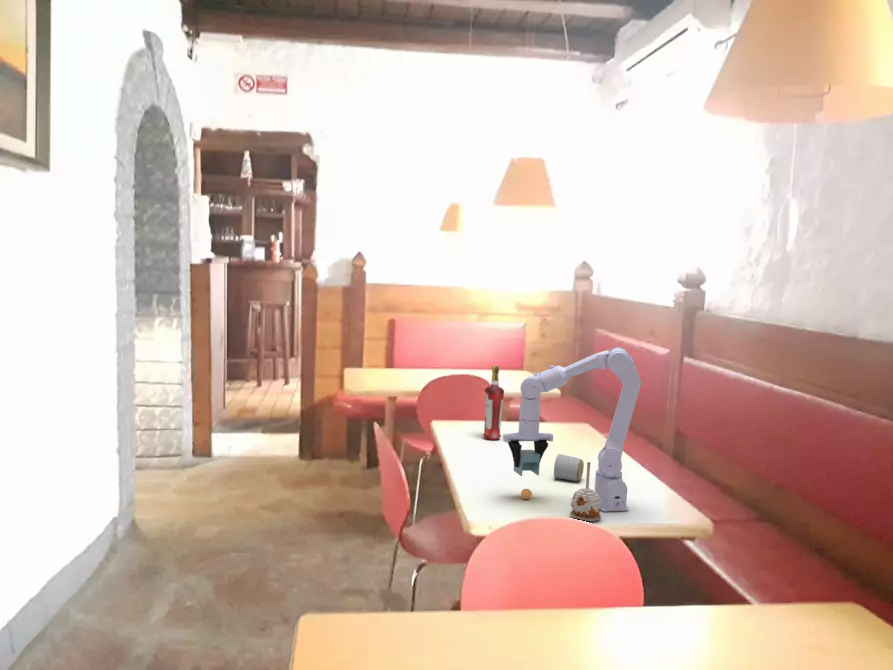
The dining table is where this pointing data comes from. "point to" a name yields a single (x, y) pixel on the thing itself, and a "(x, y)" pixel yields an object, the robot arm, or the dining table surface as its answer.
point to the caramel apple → (586, 502)
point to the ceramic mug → (568, 468)
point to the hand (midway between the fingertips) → (526, 466)
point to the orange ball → (526, 494)
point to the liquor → (493, 407)
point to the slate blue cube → (528, 462)
